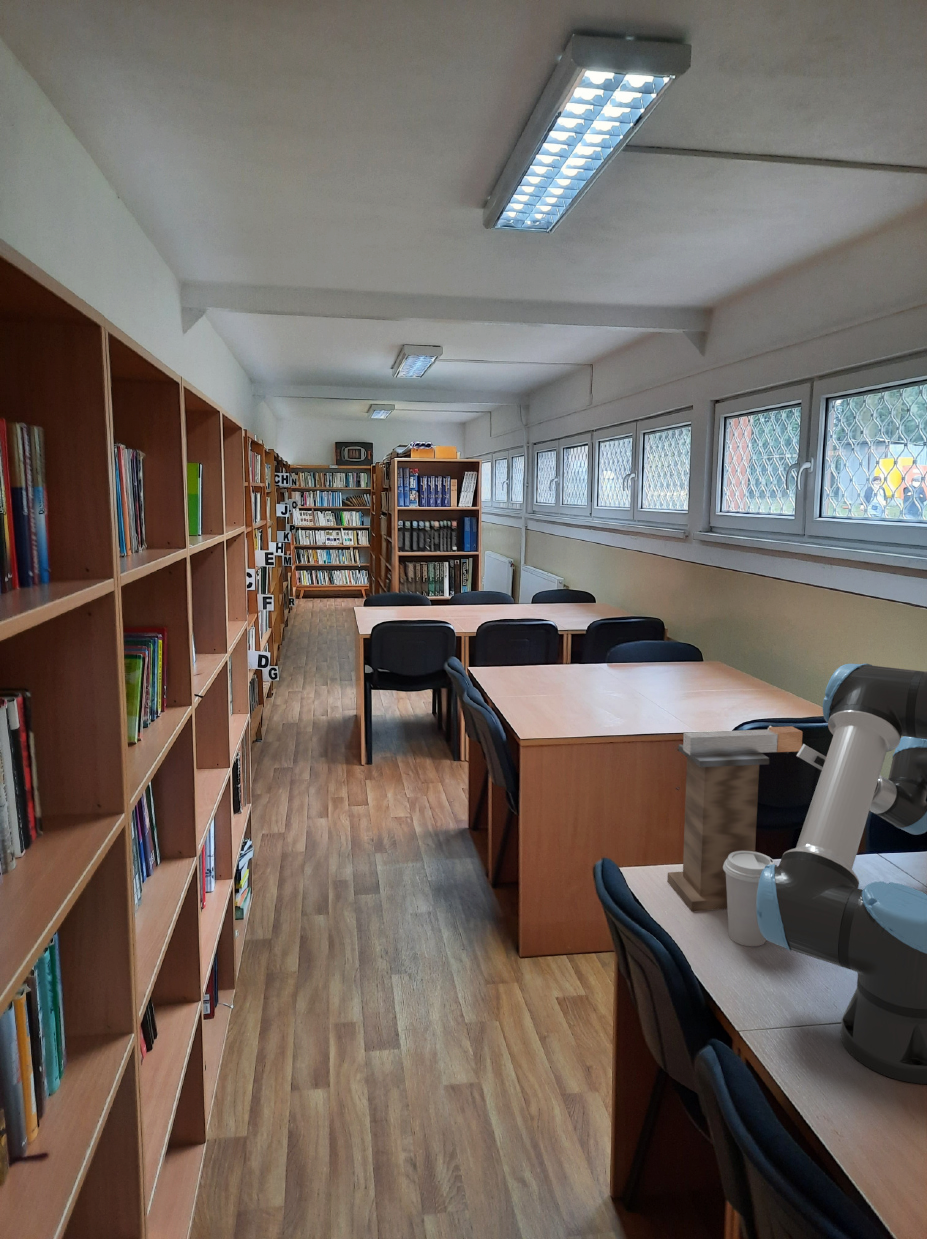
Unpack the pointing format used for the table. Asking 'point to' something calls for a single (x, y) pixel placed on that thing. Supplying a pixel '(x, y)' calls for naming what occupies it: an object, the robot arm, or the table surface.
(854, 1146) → the table surface
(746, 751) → the wood grain block
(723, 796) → the post
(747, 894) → the coffee cup
